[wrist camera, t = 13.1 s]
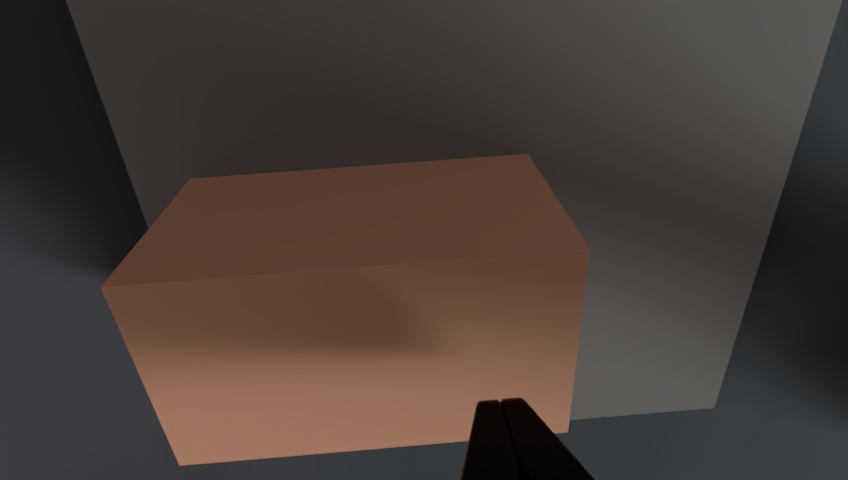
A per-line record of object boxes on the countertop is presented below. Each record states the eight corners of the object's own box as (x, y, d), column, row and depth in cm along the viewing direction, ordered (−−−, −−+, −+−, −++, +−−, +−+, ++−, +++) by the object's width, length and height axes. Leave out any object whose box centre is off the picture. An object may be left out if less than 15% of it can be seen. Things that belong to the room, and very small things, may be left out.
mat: (854, -104, 12) (875, -106, 12) (705, 395, 20) (714, 407, 20) (61, -55, 12) (45, -54, 11) (232, 435, 20) (227, 448, 19)
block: (589, 249, 10) (100, 287, 10) (567, 432, 12) (179, 465, 12) (528, 153, 14) (190, 178, 14) (521, 303, 17) (234, 326, 16)
